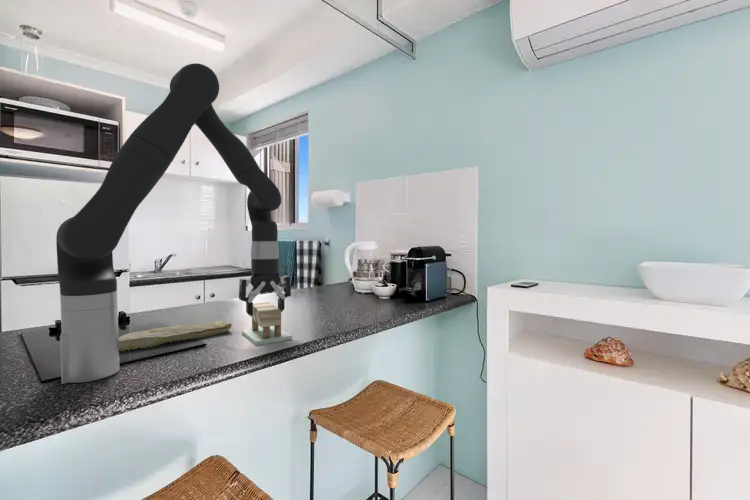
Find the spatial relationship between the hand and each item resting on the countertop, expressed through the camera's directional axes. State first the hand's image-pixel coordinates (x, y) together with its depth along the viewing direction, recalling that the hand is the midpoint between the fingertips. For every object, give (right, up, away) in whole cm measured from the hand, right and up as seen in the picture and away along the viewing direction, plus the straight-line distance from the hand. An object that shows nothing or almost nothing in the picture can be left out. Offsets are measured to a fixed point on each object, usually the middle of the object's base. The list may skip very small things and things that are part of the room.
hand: (265, 313), depth 103 cm
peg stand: (0, -7, 0) cm, 7 cm away
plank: (0, -2, 0) cm, 2 cm away
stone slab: (-26, -7, -1) cm, 27 cm away
